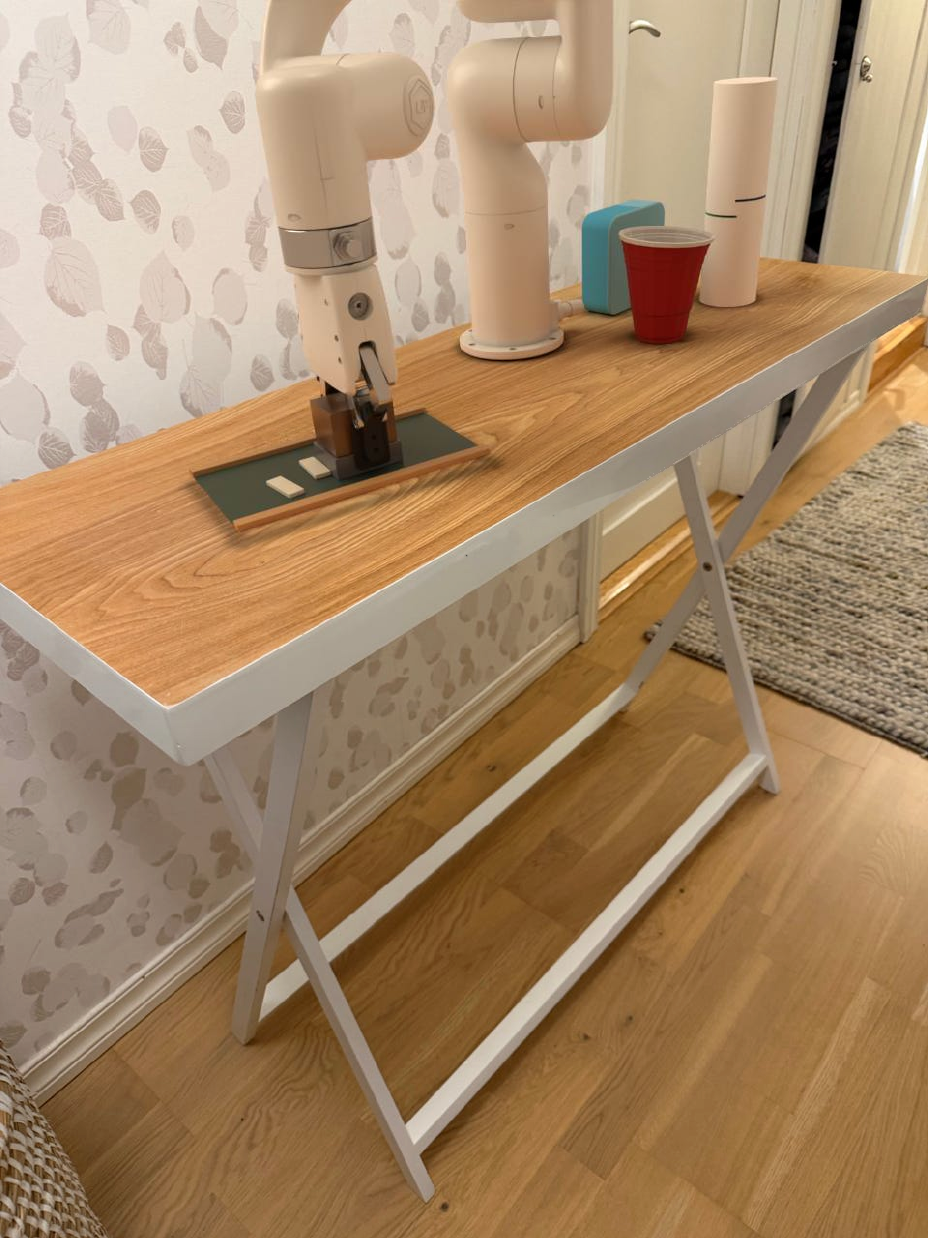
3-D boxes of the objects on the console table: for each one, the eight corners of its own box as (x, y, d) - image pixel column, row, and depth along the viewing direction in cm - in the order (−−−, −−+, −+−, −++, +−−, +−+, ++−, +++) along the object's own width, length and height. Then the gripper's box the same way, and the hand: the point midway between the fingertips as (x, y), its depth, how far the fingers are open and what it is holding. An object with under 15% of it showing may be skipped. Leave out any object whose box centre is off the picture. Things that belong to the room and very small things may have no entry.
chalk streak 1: (281, 479, 83) (280, 475, 82) (305, 492, 80) (304, 488, 80) (266, 485, 82) (265, 480, 82) (290, 498, 79) (289, 494, 79)
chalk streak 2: (314, 460, 86) (313, 456, 85) (331, 474, 83) (330, 470, 82) (299, 464, 85) (298, 460, 85) (315, 479, 82) (315, 475, 82)
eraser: (316, 462, 85) (305, 399, 82) (380, 443, 88) (371, 382, 84) (338, 480, 82) (327, 416, 78) (404, 460, 84) (396, 397, 81)
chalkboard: (420, 419, 95) (418, 403, 94) (491, 464, 85) (490, 447, 84) (193, 484, 86) (188, 467, 85) (241, 544, 76) (236, 525, 75)
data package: (634, 290, 128) (637, 196, 122) (662, 294, 126) (666, 199, 119) (580, 312, 121) (580, 215, 115) (608, 318, 119) (610, 218, 112)
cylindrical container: (761, 304, 119) (785, 80, 105) (705, 308, 119) (721, 85, 105) (748, 289, 125) (769, 75, 111) (694, 293, 125) (708, 80, 111)
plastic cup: (726, 340, 108) (735, 231, 102) (644, 356, 106) (648, 246, 99) (677, 317, 117) (682, 215, 110) (600, 332, 114) (601, 228, 108)
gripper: (419, 253, 69) (441, 475, 79) (329, 221, 82) (358, 416, 92) (327, 273, 66) (362, 500, 77) (249, 237, 79) (287, 436, 89)
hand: (359, 452), depth 84 cm, fingers closed on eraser, 5 cm apart
